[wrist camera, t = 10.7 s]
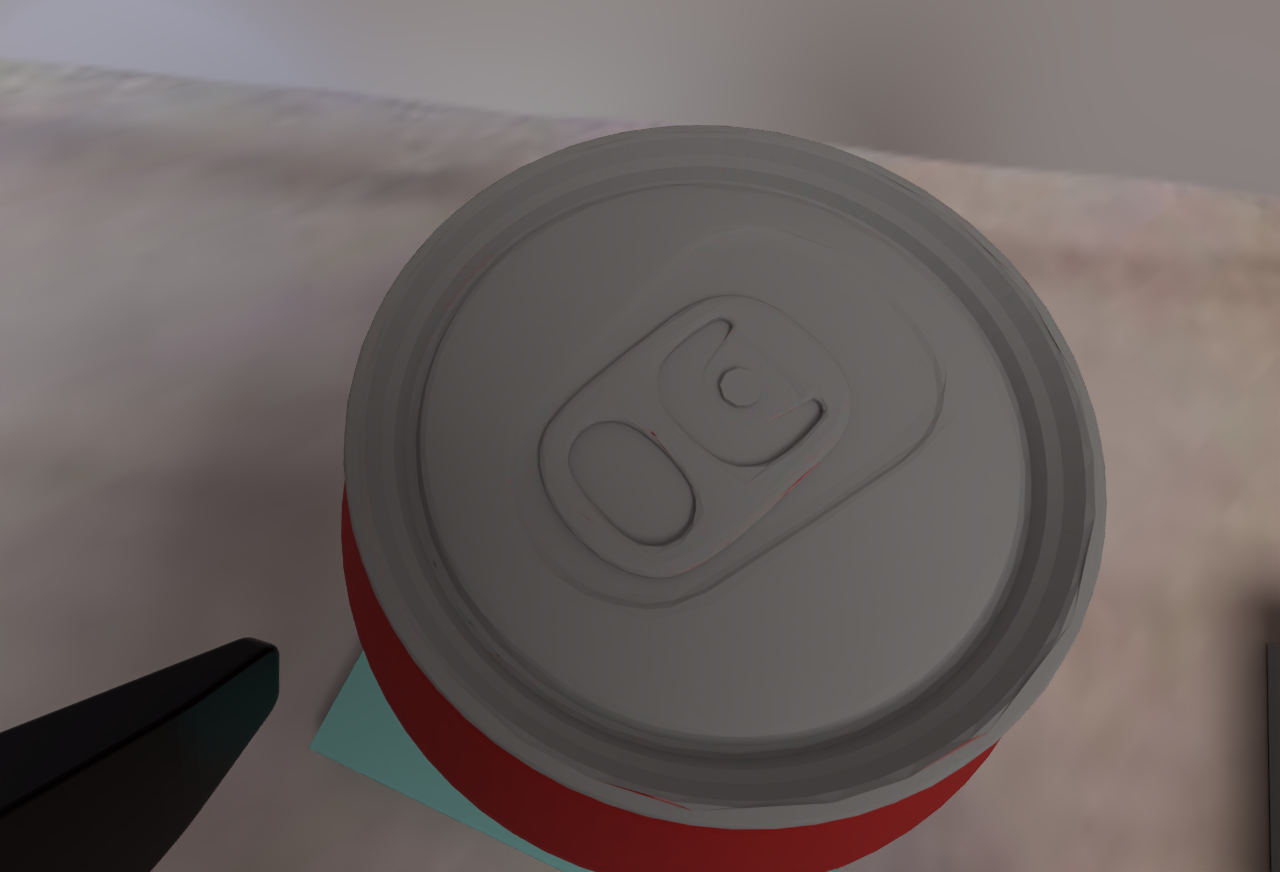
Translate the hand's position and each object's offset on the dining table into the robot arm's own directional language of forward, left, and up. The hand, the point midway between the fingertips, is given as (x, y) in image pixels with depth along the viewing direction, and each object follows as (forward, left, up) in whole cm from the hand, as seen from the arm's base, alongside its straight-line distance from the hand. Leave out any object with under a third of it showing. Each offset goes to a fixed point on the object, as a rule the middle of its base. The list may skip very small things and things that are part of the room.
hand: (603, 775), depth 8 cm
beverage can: (+3, 0, -7) cm, 8 cm away
